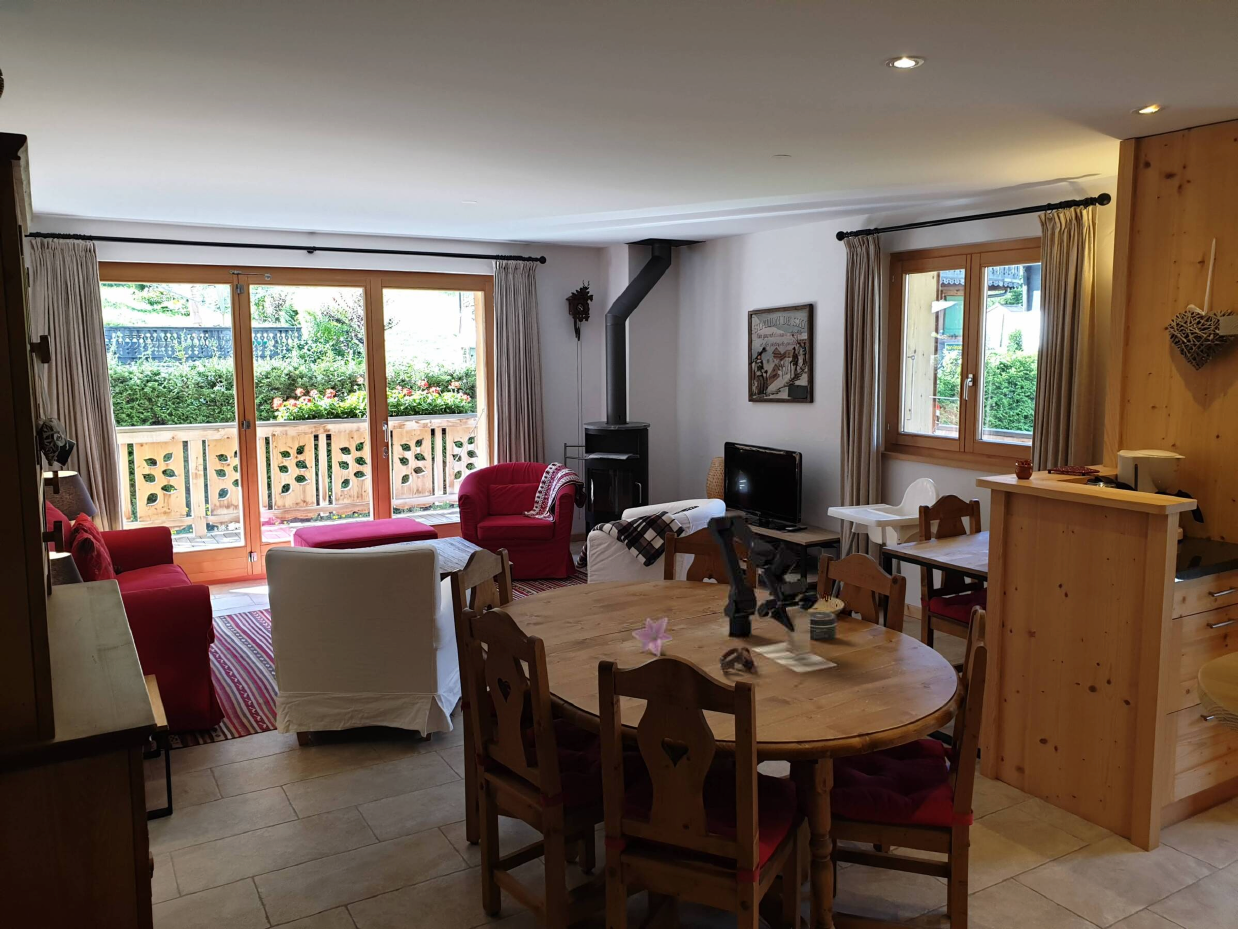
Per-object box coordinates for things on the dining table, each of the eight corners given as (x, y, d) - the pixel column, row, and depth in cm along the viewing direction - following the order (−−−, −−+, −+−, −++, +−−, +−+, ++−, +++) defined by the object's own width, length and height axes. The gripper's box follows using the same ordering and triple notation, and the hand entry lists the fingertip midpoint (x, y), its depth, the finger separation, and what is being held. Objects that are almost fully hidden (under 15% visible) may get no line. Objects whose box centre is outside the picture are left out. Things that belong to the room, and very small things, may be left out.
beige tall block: (785, 650, 263) (785, 610, 261) (799, 647, 265) (799, 607, 263) (796, 655, 258) (796, 614, 256) (810, 652, 260) (810, 612, 259)
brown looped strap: (755, 682, 248) (739, 658, 247) (726, 692, 253) (711, 668, 252) (765, 658, 258) (750, 634, 257) (737, 668, 263) (723, 644, 262)
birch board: (750, 651, 272) (750, 648, 272) (786, 645, 277) (786, 641, 277) (799, 676, 250) (799, 672, 250) (837, 668, 256) (837, 665, 256)
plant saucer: (759, 608, 319) (759, 599, 318) (815, 599, 328) (815, 590, 328) (799, 626, 297) (799, 616, 296) (858, 616, 307) (858, 606, 306)
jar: (836, 644, 277) (837, 620, 276) (803, 643, 279) (803, 619, 278) (835, 634, 286) (836, 611, 286) (803, 633, 288) (803, 610, 288)
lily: (629, 650, 279) (624, 628, 274) (659, 629, 284) (654, 607, 279) (654, 671, 271) (649, 649, 265) (683, 649, 276) (679, 627, 270)
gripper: (762, 573, 258) (785, 620, 249) (815, 565, 266) (839, 611, 257) (747, 594, 266) (769, 640, 257) (799, 585, 274) (822, 630, 265)
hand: (800, 630), depth 259 cm, fingers closed on beige tall block, 5 cm apart
